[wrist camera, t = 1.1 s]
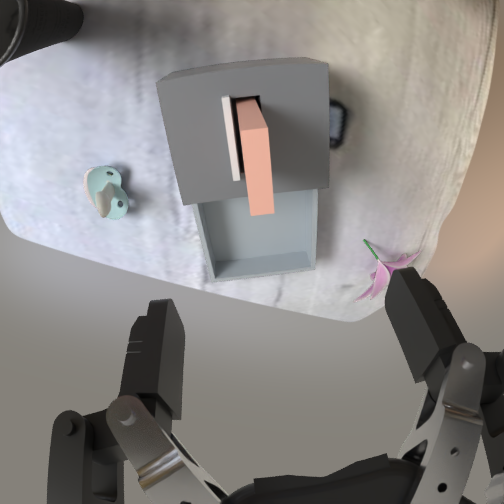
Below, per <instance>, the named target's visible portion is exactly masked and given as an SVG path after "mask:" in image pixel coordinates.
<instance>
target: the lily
mask: <svg viewBox="0 0 504 504" xmlns="http://www.w3.org/2000/svg"><path fill="white" fill-rule="evenodd" d="M363 241H364V242H365V244H366V245H367V246H368V248H369V249H370V250H371V252H372V253H373V254H374V256H375V257H376V259H377V261H378V266H377V270H376V272H375V273H372V274H370V278H371V280H372V281H373V280H374V278H375V281H374V282H373V284H372V285H371V286H370V287H369V288H368V289H367V290H366V291H365V292H364V293H363V294H362V295H361V296H359V297H358V298H357V299H355V300H354V301H353V302H358V301H360V300H363V299H365V298H367V297H369V296H370V295H371V294H372V295H371V299H370V300H372V299H373V298H375V297H376V296H377V295H378V294H380V293H381V292H382V291H383V290H384V289H385V287H386V286H387V285H389V282H390V279H391V275H392V272H393V271H394V270H395V269H401V268H407V266H406V265H408V264H409V263H410V262H412V261H413V260H414V259H415V258H416V257H417V256H418V254H419V253H420V252H421V250H422V249H421V250H420V251H418V252H417V253H415V254H413V255H412V256H410V257H408V258H407V256H406V254H405V253H404V254H403V255H402V256H401V257H400V258H399V259H398V260H397V262H383V261H380V260H379V258H378V257H377V255H376V254H375V252H374V251H373V250H372V248H371V247H370V246H369V244H368V243H367V242H366V240H365V239H364V240H363Z"/></svg>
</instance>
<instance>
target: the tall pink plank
mask: <svg viewBox="0 0 504 504" xmlns="http://www.w3.org/2000/svg"><path fill="white" fill-rule="evenodd" d="M236 106H237V114H238V122H239V130H240V138H241V146H242V154H243V161H244V169H245V176H246V184H247V191H248V199H249V206H250V214H251V216H256V215H264V214H273V213H274V199H273V185H272V172H271V159H270V147H269V135H268V127H267V125H266V122H265V120H264V118H263V116H262V113H261V111H260V109H259V107H258V105H257V103H256V100H255V98H254V96H247V97H238V98H236Z"/></svg>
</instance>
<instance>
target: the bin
mask: <svg viewBox="0 0 504 504" xmlns="http://www.w3.org/2000/svg"><path fill="white" fill-rule="evenodd" d="M273 199H274V213H273V214H264V215H256V216H251V214H250V206H249V199H248V197H241V198H233V199H225V200H218V201H211V202H204V203H197V204H192V208H193V212H194V216H195V220H196V224H197V228H198V232H199V236H200V240H201V244H202V248H203V252H204V256H205V260H206V264H207V267H208V271H209V275H210V279H211V282H212V283H213V282H222V281H230V280H239V279H247V278H255V277H263V276H271V275H279V274H286V273H294V272H302V271H309V270H315V265H316V243H317V213H318V189H312V190H302V191H292V192H283V193H274V194H273Z"/></svg>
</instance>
